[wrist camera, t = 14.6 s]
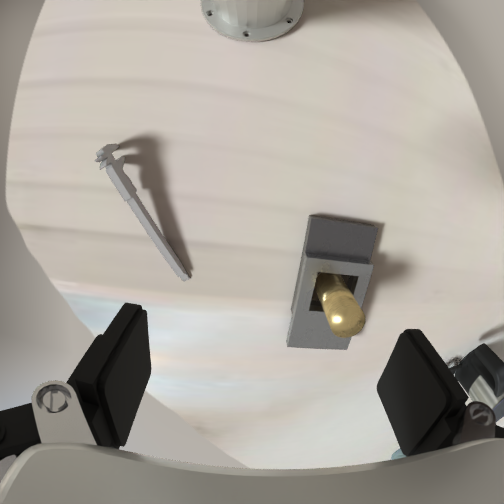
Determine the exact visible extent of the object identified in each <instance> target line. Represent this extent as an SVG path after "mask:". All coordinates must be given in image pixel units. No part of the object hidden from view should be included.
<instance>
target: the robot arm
mask: <svg viewBox="0 0 504 504" xmlns="http://www.w3.org/2000/svg"><path fill="white" fill-rule="evenodd" d="M200 4H201V10H202V13H203V15H204V18H205V19H206V21H207V23H208V24H209V25H210V26H211V27H212V28H213V29H214V30H216V31H217V32H218V33H220V34H222V35H224V36H226V37H228V38H231V39H234V40H238V41H245V42H260V41H266V40H270V39H274V38H277V37H279V36H281V35H283V34H285V33H286V32H288V31H289V30H290V29H292V28H293V27H294V26H295V24H296V23H297V22H298V20H299V19H300V17H301V15H302V12H303V8H304V0H201V3H200ZM210 14H212V15H211V16H209V15H210ZM287 22H290V23H287ZM245 35H249V36H248V37H245ZM150 375H151V359H150V349H149V336H148V322H147V311H146V310H142V306H141V305H137V304H131V303H125V304H124V305H123V306H122V308H121V309H120V311H119V312H118V313H117V315H116V316H115V318H114V319H113V321H112V322H111V324H110V325H109V327H108V328H107V329H106V331H105V332H104V334H103V335H102V334H100V335H98V336H97V337H96V338H95V340H94V341H93V343H92V344H91V346H90V347H89V349H88V350H87V352H86V353H85V355H84V356H83V358H82V359H81V361H80V362H79V364H78V365H77V367H76V369H75V370H74V372H73V373H72V375H71V376H70V378H69V380H68V381H67V383H65V382H62V381H56V380H55V381H48V382H45V383H43V384H41V385H40V386H38V387H37V388H36V389H35V391H34V392H33V395H32V403H29V404H25V405H22V406H18V407H14V408H10V409H7V410H3V411H0V504H504V428H502V427H500V426H497V425H496V416H495V413H494V411H493V410H492V409H491V408H490V407H489V406H488V405H487V404H485V403H483V402H479V401H473V402H471V403H469V404H468V405H467V406H466V405H465V402H466V401H467V399H468V398H469V397H468V396H467V394H466V393H465V391H464V390H463V388H462V387H461V385H460V384H459V382H458V381H457V379H456V378H455V376H454V375H453V374H452V372H451V371H450V369H449V368H448V367H447V365H446V364H445V362H444V361H443V360H442V358H441V357H440V355H439V354H438V353H437V351H436V350H435V349H434V347H433V346H432V345H431V343H430V342H429V340H428V339H427V338H426V337H425V335H424V334H423V333H422V331H421V330H420V329H406V330H405V331H404V332H403V333H401V334H400V336H399V338H398V341H397V343H396V345H395V347H394V350H393V352H392V354H391V356H390V359H389V361H388V363H387V365H386V367H385V369H384V371H383V373H382V375H381V378H380V380H379V382H378V384H377V392H378V394H379V397H380V399H381V401H382V404H383V406H384V409H385V411H386V413H387V416H388V418H389V421H390V423H391V426H392V428H393V431H394V433H395V436H396V438H397V441H398V443H399V446H400V448H401V451H402V453H403V454H404V455H406V457H404V458H399V459H394V460H388V461H382V462H375V463H368V464H361V465H353V466H343V467H332V468H316V469H247V468H233V467H232V468H231V467H221V466H211V465H203V464H195V463H188V462H181V461H174V460H169V459H163V458H158V457H152V456H147V455H143V454H138V453H133V452H128V451H123V450H119V447H120V446H125V444H126V442H127V439H128V436H129V433H130V430H131V427H132V424H133V421H134V419H135V416H136V413H137V410H138V408H139V405H140V402H141V399H142V397H143V394H144V391H145V388H146V386H147V383H148V380H149V378H150Z"/></svg>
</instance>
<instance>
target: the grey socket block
mask: <svg viewBox="0 0 504 504" xmlns="http://www.w3.org/2000/svg"><path fill="white" fill-rule="evenodd" d="M377 230H378V228H377V227H376V226H374V225H370V224H364V223H357V222H351V221H345V220H338V219H332V218H325V217H318V216H311V215H309V220H308V225H307V231H306V236H305V242H304V247H303V252H302V257H301V262H300V268H299V273H298V278H297V283H296V287H295V292H294V297H293V302H292V306H291V311H292V318H291V322H290V327H289V331H288V335H287V340H286V342H287V347H297V348H315V349H340V350H347V348H348V345H349V343H350V340H351V337H352V336H351V337H348V338H341V337H338V336H336V335H334V333H333V332H332V330H331V328H330V325H329V323H328V320H327V317H326V315H325V312H324V310H323V307H322V305H321V302H320V301H316V300H311V299H312V294H313V290H314V286H315V282H316V277H317V273H318V272H324V273H333V274H343V275H350V277H349V281H348V284H347V286H348V288H349V290H350V291H351V293H352V295H353V296H354V298H355V300H356V301H357V303H358V305H359V306H360V308H361V307H362V304H363V301H364V298H365V294H366V291H367V288H368V284H369V281H370V277H371V274H372V270H373V267H374V265H373V264H372V263H371V262H370V259H371V255H372V251H373V247H374V243H375V239H376V235H377Z"/></svg>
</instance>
